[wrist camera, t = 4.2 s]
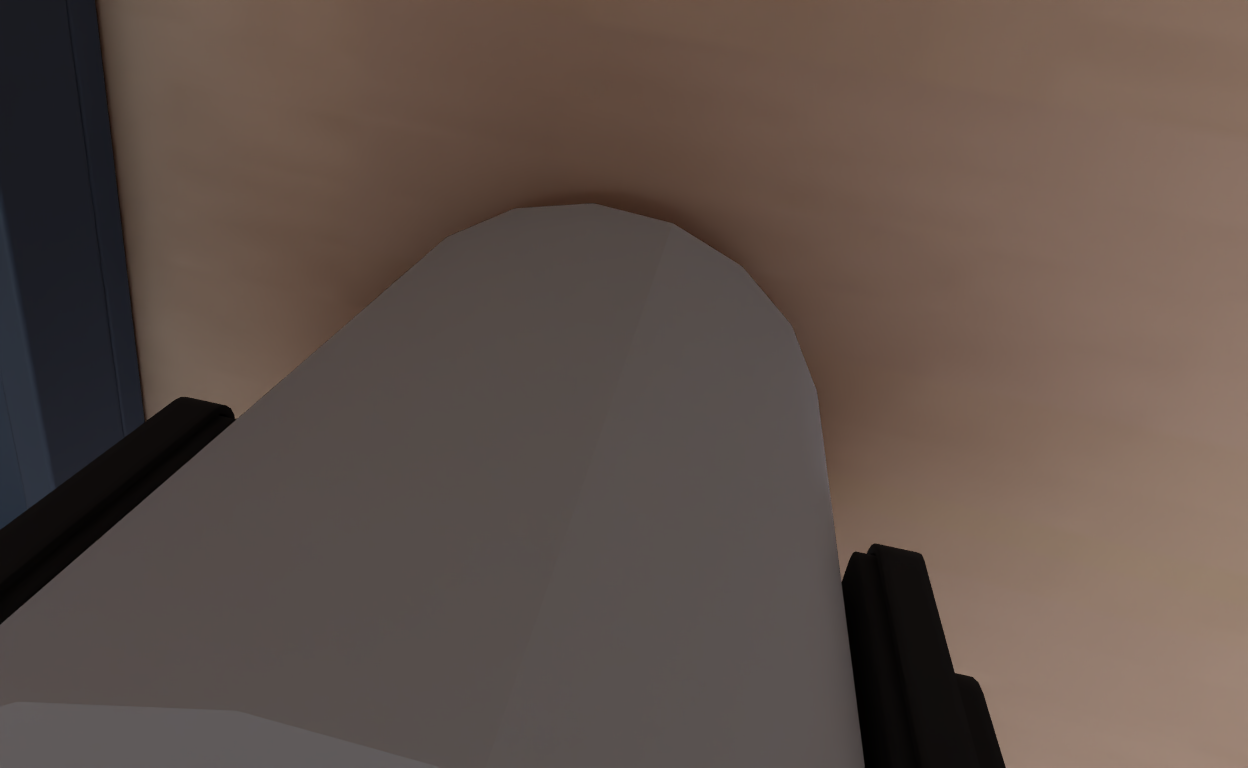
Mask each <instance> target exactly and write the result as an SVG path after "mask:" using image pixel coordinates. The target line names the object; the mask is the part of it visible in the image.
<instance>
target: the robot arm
mask: <svg viewBox="0 0 1248 768" xmlns="http://www.w3.org/2000/svg"><path fill="white" fill-rule="evenodd" d="M235 420H237V419H235V417H234V413H233V412H232V410H231V408H229V407H228V406H226V405H222V404H217V403H212V402H207V401H203V400H198V399H193V398H189V397H180V398H178V399H176V400H174V401H173V402H171V403H170V404H169V405H167V406H166V407H165V408H163V409H162V410H161V411H159V412H158V413H157V414H155V415H154V416H153V417H151V418H150V419H149V420H147V421H146V422H145V423H143V424H142V425H140V426H139V427H138V428H136V429H135V430H134V431H132V432H131V433H130V434H128V435H127V436H126V437H124V438H123V439H122V440H120V441H119V442H118V443H116V444H115V445H114V446H112V447H111V448H110V449H108V450H107V451H105V452H104V453H103V454H101V455H100V456H99V457H97V458H96V459H95V460H93V461H92V462H91V463H89V464H88V465H87V466H85V467H84V468H83V469H81V470H80V471H79V472H77V473H76V474H75V475H73V476H72V477H70V478H69V479H68V480H66V481H65V482H64V483H62V484H61V485H60V486H58V487H57V488H56V489H54V490H53V491H52V492H50V493H49V494H48V495H46V496H45V497H44V498H42V499H41V500H40V501H38V502H37V503H35V504H34V505H33V506H31V507H30V508H29V509H27V510H26V511H25V512H23V513H22V514H21V515H19V516H18V517H17V518H15V519H14V520H13V521H11V522H10V523H9V524H7V525H6V526H5V527H3V528H2V529H0V625H1V624H2V623H3V622H4V621H5V620H6V619H7V618H9V617H10V616H11V615H12V614H13V613H14V612H15V611H17V610H18V609H19V608H20V607H21V606H22V605H24V604H25V603H26V602H27V601H28V600H29V599H30V598H32V597H33V596H34V595H35V594H36V593H37V592H39V591H40V590H41V589H42V588H43V587H44V586H45V585H47V584H48V583H49V582H50V581H51V580H52V579H53V578H55V577H56V576H57V575H58V574H59V573H60V572H62V571H63V570H64V569H65V568H66V567H67V566H68V565H70V564H71V563H72V562H73V561H74V560H75V559H77V558H78V557H79V556H80V555H81V554H82V553H83V552H85V551H86V550H87V549H88V548H89V547H90V546H91V545H93V544H94V543H95V542H96V541H97V540H98V539H100V538H101V537H102V536H103V535H104V534H105V533H106V532H108V531H109V530H110V529H111V528H112V527H113V526H115V525H116V524H117V523H118V522H119V521H120V520H121V519H123V518H124V517H125V516H126V515H127V514H128V513H129V512H131V511H132V510H133V509H134V508H135V507H136V506H138V505H139V504H140V503H141V502H142V501H143V500H144V499H146V498H147V497H148V496H149V495H150V494H151V493H152V492H154V491H155V490H156V489H157V488H158V487H159V486H161V485H162V484H163V483H164V482H165V481H166V480H167V479H169V478H170V477H171V476H172V475H173V474H174V473H176V472H177V471H178V470H179V469H180V468H181V467H182V466H184V465H185V464H186V463H187V462H188V461H189V460H190V459H192V458H193V457H194V456H195V455H196V454H197V453H199V452H200V451H201V450H202V449H203V448H204V447H205V446H207V445H208V444H209V443H210V442H211V441H212V440H214V439H215V438H216V437H217V436H218V435H219V434H220V433H222V432H223V431H224V430H225V429H226V428H227V427H228V426H230V425H231V424H232V423H233V422H234V421H235ZM842 591H843V599H844V607H845V615H846V623H847V631H848V639H849V646H850V654H851V662H852V670H853V678H854V686H855V694H856V701H857V709H858V717H859V725H860V733H861V741H862V749H863V757H864V764H865V768H1006V767H1005V764H1004V761H1003V757H1002V754H1001V751H1000V747H999V744H998V741H997V737H996V734H995V731H994V727H993V724H992V721H991V718H990V714H989V711H988V708H987V704H986V701H985V698H984V694H983V692H982V690H981V687H980V685H979V683H978V682H977V681H976V680H975V679H974V678H973V677H970V676H966V675H961V674H956V673H955V672H954V669H953V665H952V661H951V657H950V654H949V650H948V646H947V643H946V639H945V635H944V632H943V628H942V624H941V620H940V617H939V613H938V609H937V606H936V602H935V598H934V595H933V591H932V587H931V584H930V580H929V576H928V572H927V569H926V565H925V561H924V559H923V556H922V555H921V554H920V553H917V552H913V551H908V550H903V549H898V548H894V547H889V546H884V545H880V544H873V545H871V547H870V548H869V550H868V552H867V554H865V553H860V552H854V553H853V554H852V556H851V558H850V560H849V563H848V566H847V568H846V571H845V574H844V577H843V580H842Z"/></svg>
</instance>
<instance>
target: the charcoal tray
mask: <svg viewBox="0 0 1248 768" xmlns="http://www.w3.org/2000/svg"><path fill="white" fill-rule="evenodd" d="M143 423H145V421H144V413H143V404H142V396H141V387H140V379H139V370H138V362H137V353H136V345H135V336H134V328H133V319H132V311H131V302H130V294H129V286H128V277H127V269H126V260H125V252H124V243H123V235H122V226H121V218H120V209H119V201H118V192H117V184H116V175H115V167H114V158H113V150H112V141H111V133H110V124H109V116H108V107H107V99H106V91H105V82H104V74H103V65H102V57H101V48H100V40H99V31H98V23H97V14H96V6H95V0H0V529H2V528H3V527H5V526H6V525H7V524H9V523H10V522H11V521H13V520H14V519H15V518H17V517H18V516H19V515H21V514H22V513H23V512H25V511H26V510H27V509H29V508H30V507H31V506H33V505H34V504H35V503H37V502H38V501H40V500H41V499H42V498H44V497H45V496H46V495H48V494H49V493H50V492H52V491H53V490H54V489H56V488H57V487H58V486H60V485H61V484H62V483H64V482H65V481H66V480H68V479H69V478H70V477H72V476H73V475H75V474H76V473H77V472H79V471H80V470H81V469H83V468H84V467H85V466H87V465H88V464H89V463H91V462H92V461H93V460H95V459H96V458H97V457H99V456H100V455H101V454H103V453H104V452H105V451H107V450H108V449H110V448H111V447H112V446H114V445H115V444H116V443H118V442H119V441H120V440H122V439H123V438H124V437H126V436H127V435H128V434H130V433H131V432H132V431H134V430H135V429H136V428H138V427H139V426H140V425H142V424H143Z"/></svg>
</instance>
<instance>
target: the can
mask: <svg viewBox="0 0 1248 768" xmlns="http://www.w3.org/2000/svg"><path fill="white" fill-rule="evenodd" d="M0 768H865V764H864V757H863V749H862V741H861V733H860V725H859V717H858V709H857V701H856V694H855V686H854V678H853V670H852V662H851V654H850V646H849V639H848V631H847V623H846V615H845V607H844V599H843V591H842V583H841V576H840V568H839V560H838V552H837V544H836V536H835V528H834V521H833V513H832V505H831V497H830V489H829V481H828V473H827V465H826V458H825V450H824V442H823V434H822V426H821V418H820V410H819V403H818V395H817V390H816V388H815V385H814V383H813V380H812V377H811V375H810V372H809V369H808V367H807V364H806V362H805V359H804V356H803V354H802V351H801V348H800V346H799V343H798V341H797V338H796V335H795V333H794V330H793V327H792V325H791V324H790V323H789V321H788V320H787V319H786V318H785V317H784V316H783V314H782V313H781V312H780V311H779V310H778V308H777V307H776V306H775V305H774V304H773V302H772V301H771V300H770V299H769V298H768V297H767V295H766V294H765V293H764V292H763V291H762V289H761V288H760V287H759V286H758V285H757V283H756V282H755V281H754V280H753V279H752V278H751V276H750V275H749V274H748V273H747V272H746V270H745V269H744V268H743V267H742V266H741V265H739V264H738V263H736V262H734V261H733V260H731V259H730V258H728V257H726V256H725V255H723V254H722V253H720V252H718V251H717V250H715V249H713V248H712V247H710V246H709V245H707V244H705V243H704V242H702V241H701V240H699V239H697V238H696V237H694V236H693V235H691V234H689V233H688V232H686V231H684V230H683V229H681V228H680V227H678V226H676V225H675V224H673V223H670V222H666V221H662V220H658V219H654V218H650V217H646V216H642V215H638V214H634V213H630V212H626V211H622V210H618V209H614V208H610V207H606V206H602V205H598V204H594V203H590V204H574V205H559V206H544V207H529V208H515V209H512V210H510V211H507V212H505V213H503V214H500V215H498V216H496V217H493V218H491V219H488V220H486V221H484V222H481V223H479V224H476V225H474V226H472V227H469V228H467V229H465V230H462V231H460V232H457V233H455V234H453V235H450V236H448V237H446V238H445V239H444V240H443V241H442V242H440V243H439V244H438V245H437V246H436V247H435V248H433V249H432V250H431V251H430V252H429V253H428V254H427V255H425V256H424V257H423V258H422V259H421V260H420V261H418V262H417V263H416V264H415V265H414V266H413V267H412V268H410V269H409V270H408V271H407V272H406V273H405V274H404V275H402V276H401V277H400V278H399V279H398V280H397V281H395V282H394V283H393V284H392V285H391V286H390V287H389V288H387V289H386V290H385V291H384V292H383V293H382V294H380V295H379V296H378V297H377V298H376V299H375V300H374V301H372V302H371V303H370V304H369V305H368V306H367V307H366V308H364V309H363V310H362V311H361V312H360V313H359V314H357V315H356V316H355V317H354V318H353V319H352V320H351V321H349V322H348V323H347V324H346V325H345V326H344V327H342V328H341V329H340V330H339V331H338V332H337V333H336V334H334V335H333V336H332V337H331V338H330V339H329V340H328V341H326V342H325V343H324V344H323V345H322V346H321V347H319V348H318V349H317V350H316V351H315V352H314V353H313V354H311V355H310V356H309V357H308V358H307V359H306V360H304V361H303V362H302V363H301V364H300V365H299V366H298V367H296V368H295V369H294V370H293V371H292V372H291V373H290V374H288V375H287V376H286V377H285V378H284V379H283V380H281V381H280V382H279V383H278V384H277V385H276V386H275V387H273V388H272V389H271V390H270V391H269V392H268V393H266V394H265V395H264V396H263V397H262V398H261V399H260V400H258V401H257V402H256V403H255V404H254V405H253V406H252V407H250V408H249V409H248V410H247V411H246V412H245V413H243V414H242V415H241V416H240V417H239V418H238V419H237V420H235V421H234V422H233V423H232V424H231V425H230V426H228V427H227V428H226V429H225V430H224V431H223V432H222V433H220V434H219V435H218V436H217V437H216V438H215V439H214V440H212V441H211V442H210V443H209V444H208V445H207V446H205V447H204V448H203V449H202V450H201V451H200V452H199V453H197V454H196V455H195V456H194V457H193V458H192V459H190V460H189V461H188V462H187V463H186V464H185V465H184V466H182V467H181V468H180V469H179V470H178V471H177V472H176V473H174V474H173V475H172V476H171V477H170V478H169V479H167V480H166V481H165V482H164V483H163V484H162V485H161V486H159V487H158V488H157V489H156V490H155V491H154V492H152V493H151V494H150V495H149V496H148V497H147V498H146V499H144V500H143V501H142V502H141V503H140V504H139V505H138V506H136V507H135V508H134V509H133V510H132V511H131V512H129V513H128V514H127V515H126V516H125V517H124V518H123V519H121V520H120V521H119V522H118V523H117V524H116V525H115V526H113V527H112V528H111V529H110V530H109V531H108V532H106V533H105V534H104V535H103V536H102V537H101V538H100V539H98V540H97V541H96V542H95V543H94V544H93V545H91V546H90V547H89V548H88V549H87V550H86V551H85V552H83V553H82V554H81V555H80V556H79V557H78V558H77V559H75V560H74V561H73V562H72V563H71V564H70V565H68V566H67V567H66V568H65V569H64V570H63V571H62V572H60V573H59V574H58V575H57V576H56V577H55V578H53V579H52V580H51V581H50V582H49V583H48V584H47V585H45V586H44V587H43V588H42V589H41V590H40V591H39V592H37V593H36V594H35V595H34V596H33V597H32V598H30V599H29V600H28V601H27V602H26V603H25V604H24V605H22V606H21V607H20V608H19V609H18V610H17V611H15V612H14V613H13V614H12V615H11V616H10V617H9V618H7V619H6V620H5V621H4V622H3V623H2V624H1V625H0Z"/></svg>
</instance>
